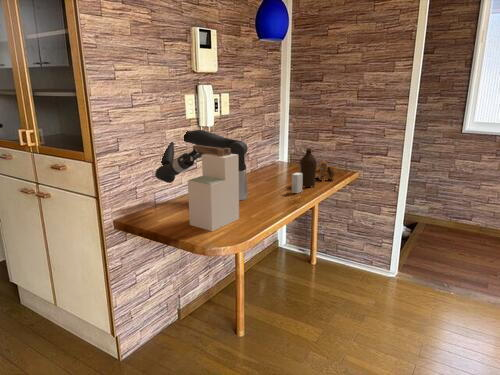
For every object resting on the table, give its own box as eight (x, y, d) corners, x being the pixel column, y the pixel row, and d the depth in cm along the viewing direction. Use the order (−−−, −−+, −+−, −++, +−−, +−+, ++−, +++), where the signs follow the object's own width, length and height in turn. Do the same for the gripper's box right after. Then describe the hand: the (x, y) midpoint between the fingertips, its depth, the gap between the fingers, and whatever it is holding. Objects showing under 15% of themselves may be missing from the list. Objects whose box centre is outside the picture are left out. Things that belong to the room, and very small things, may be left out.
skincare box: (296, 191, 230) (297, 172, 227) (302, 192, 227) (303, 173, 224) (291, 193, 225) (291, 174, 222) (297, 194, 223) (297, 175, 220)
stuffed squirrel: (313, 178, 261) (314, 160, 258) (332, 177, 264) (333, 159, 260) (318, 181, 252) (319, 162, 248) (337, 181, 254) (338, 162, 251)
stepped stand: (217, 213, 190) (215, 151, 182) (239, 218, 182) (238, 154, 174) (189, 224, 174) (186, 158, 166) (212, 231, 167) (209, 161, 158)
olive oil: (317, 184, 244) (318, 147, 238) (313, 188, 235) (315, 149, 228) (301, 183, 248) (302, 146, 242) (297, 187, 239) (298, 148, 232)
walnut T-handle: (199, 150, 185) (199, 144, 184) (230, 154, 174) (230, 148, 173) (190, 152, 180) (190, 146, 180) (222, 156, 169) (222, 150, 168)
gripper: (169, 158, 184) (189, 144, 174) (190, 154, 195) (209, 141, 185) (175, 172, 184) (195, 159, 174) (195, 167, 195) (215, 154, 185)
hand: (202, 149), depth 180 cm, fingers open, 8 cm apart
